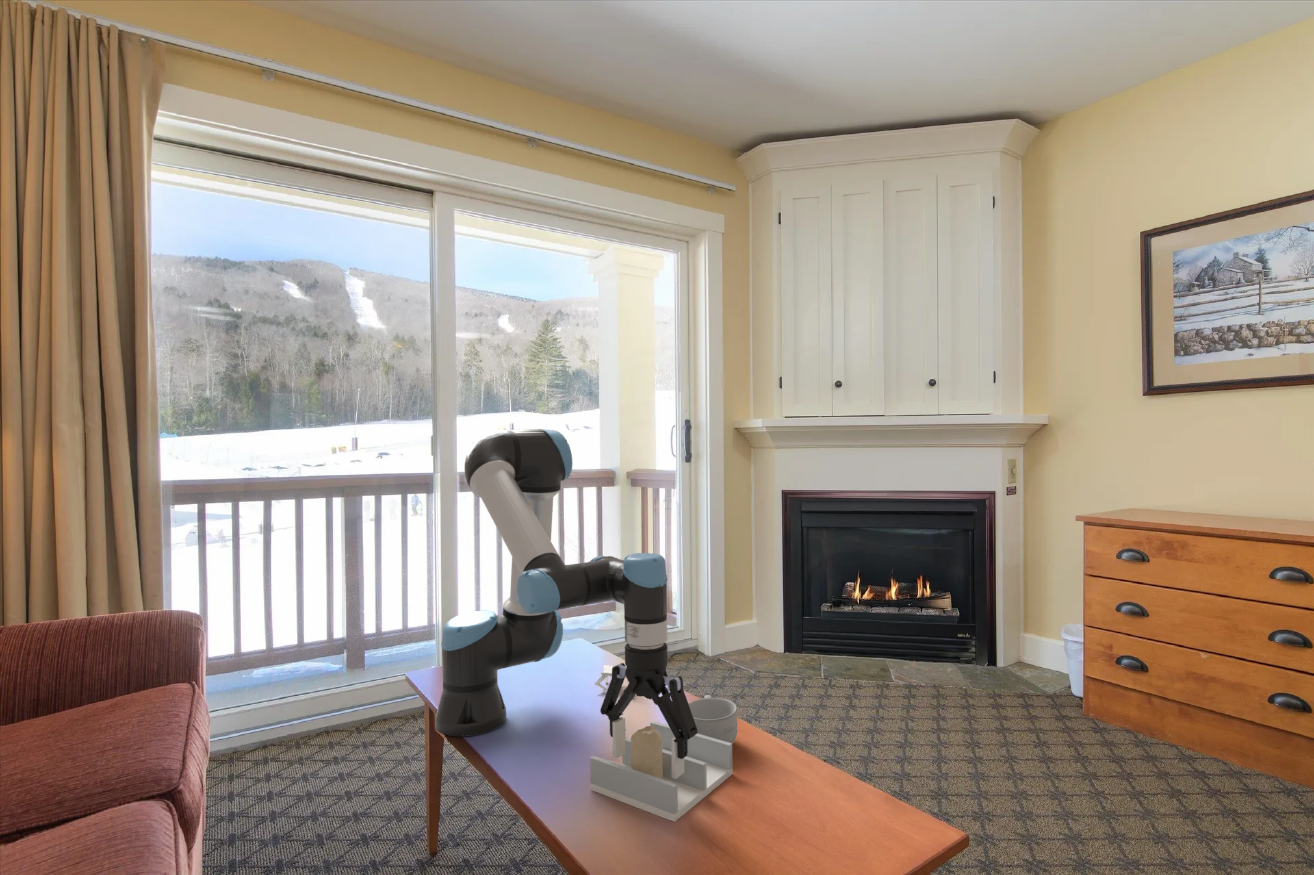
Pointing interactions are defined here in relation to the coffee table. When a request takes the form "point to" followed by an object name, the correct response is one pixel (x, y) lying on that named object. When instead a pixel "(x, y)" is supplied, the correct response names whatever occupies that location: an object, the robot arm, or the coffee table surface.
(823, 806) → the coffee table surface
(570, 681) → the coffee table surface
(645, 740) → the candle
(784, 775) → the coffee table surface
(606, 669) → the origami figure
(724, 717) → the teacup
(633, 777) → the slot rack
